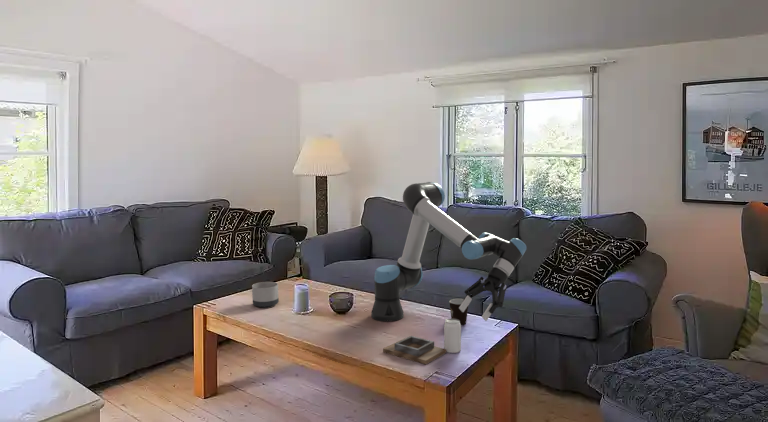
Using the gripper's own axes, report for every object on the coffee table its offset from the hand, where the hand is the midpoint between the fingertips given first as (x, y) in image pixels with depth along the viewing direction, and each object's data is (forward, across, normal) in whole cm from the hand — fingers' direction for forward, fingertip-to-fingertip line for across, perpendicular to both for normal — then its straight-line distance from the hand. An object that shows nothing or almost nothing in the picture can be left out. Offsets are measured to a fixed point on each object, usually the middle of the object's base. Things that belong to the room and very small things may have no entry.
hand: (472, 314), depth 218 cm
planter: (+43, +101, +25) cm, 113 cm away
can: (+16, +1, -3) cm, 16 cm away
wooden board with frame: (+25, +8, +7) cm, 27 cm away
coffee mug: (-1, +26, -20) cm, 33 cm away
